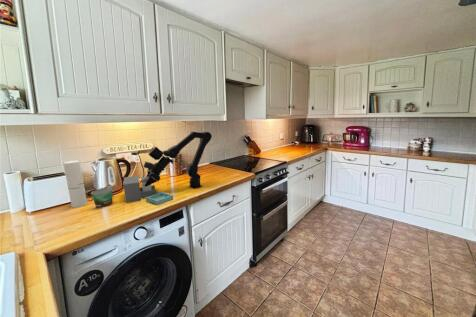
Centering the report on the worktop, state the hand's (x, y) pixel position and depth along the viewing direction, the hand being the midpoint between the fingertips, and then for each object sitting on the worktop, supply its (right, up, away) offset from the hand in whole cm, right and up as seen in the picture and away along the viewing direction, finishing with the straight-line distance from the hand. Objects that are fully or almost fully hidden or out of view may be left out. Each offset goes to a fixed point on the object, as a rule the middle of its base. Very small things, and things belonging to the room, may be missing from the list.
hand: (144, 184), depth 134 cm
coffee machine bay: (-2, -7, 0) cm, 7 cm away
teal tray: (+12, -8, -8) cm, 17 cm away
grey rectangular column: (-32, -11, -11) cm, 36 cm away
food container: (-16, -10, -12) cm, 22 cm away
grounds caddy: (+1, -7, +2) cm, 7 cm away
